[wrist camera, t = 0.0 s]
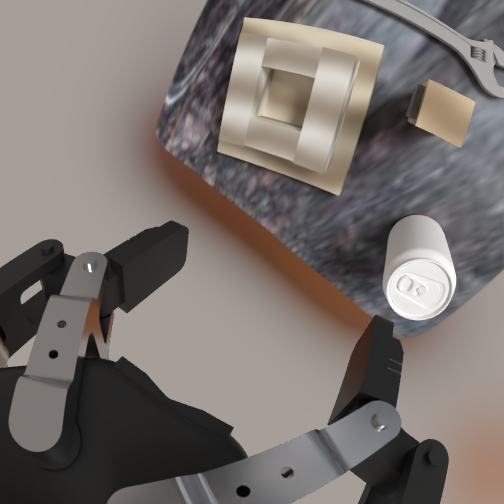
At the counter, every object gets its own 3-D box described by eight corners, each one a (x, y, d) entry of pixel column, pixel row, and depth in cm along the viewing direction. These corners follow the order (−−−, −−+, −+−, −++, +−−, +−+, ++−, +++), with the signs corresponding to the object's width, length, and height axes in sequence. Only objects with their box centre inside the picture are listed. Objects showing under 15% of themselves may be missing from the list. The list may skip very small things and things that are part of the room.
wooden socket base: (249, 19, 31) (229, 10, 27) (384, 48, 27) (382, 37, 22) (222, 150, 42) (200, 156, 38) (340, 192, 38) (332, 205, 33)
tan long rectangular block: (411, 89, 28) (422, 76, 17) (446, 105, 26) (475, 102, 15) (402, 119, 30) (408, 122, 19) (436, 134, 29) (460, 148, 18)
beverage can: (428, 277, 37) (432, 333, 27) (379, 255, 39) (369, 306, 29) (454, 228, 32) (471, 274, 23) (401, 203, 35) (401, 241, 25)
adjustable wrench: (331, -10, 26) (328, -15, 24) (353, -41, 22) (350, -47, 20) (499, 106, 23) (504, 106, 22) (520, 72, 19) (525, 71, 18)
